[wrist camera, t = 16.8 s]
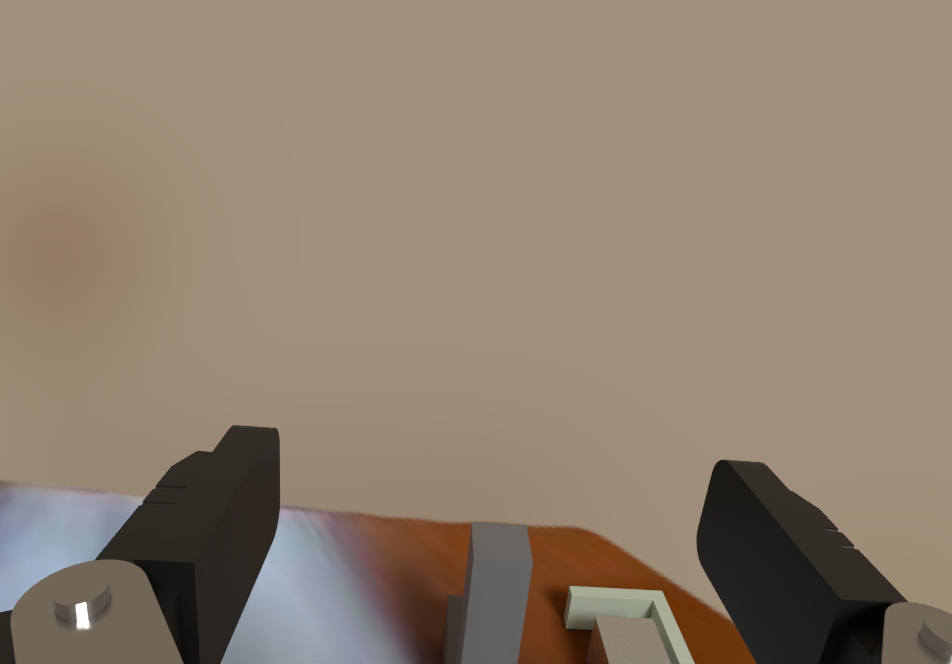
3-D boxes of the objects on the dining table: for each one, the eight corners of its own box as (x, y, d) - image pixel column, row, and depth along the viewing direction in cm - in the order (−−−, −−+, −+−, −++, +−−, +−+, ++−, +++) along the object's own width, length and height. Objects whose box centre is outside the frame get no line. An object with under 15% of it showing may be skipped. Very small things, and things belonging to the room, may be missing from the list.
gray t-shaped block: (439, 872, 30) (466, 648, 25) (443, 641, 43) (461, 467, 38) (520, 874, 30) (561, 652, 25) (499, 643, 43) (524, 471, 39)
